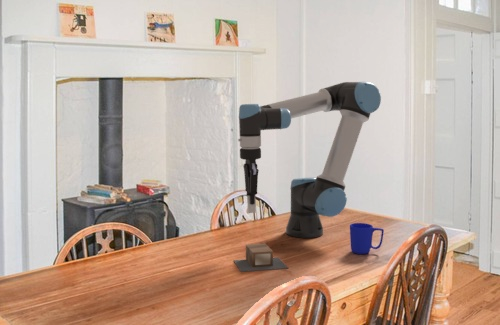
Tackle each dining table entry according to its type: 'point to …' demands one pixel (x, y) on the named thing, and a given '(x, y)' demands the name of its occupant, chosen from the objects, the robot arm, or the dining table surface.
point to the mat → (246, 267)
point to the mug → (363, 237)
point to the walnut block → (259, 255)
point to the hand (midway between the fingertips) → (251, 212)
